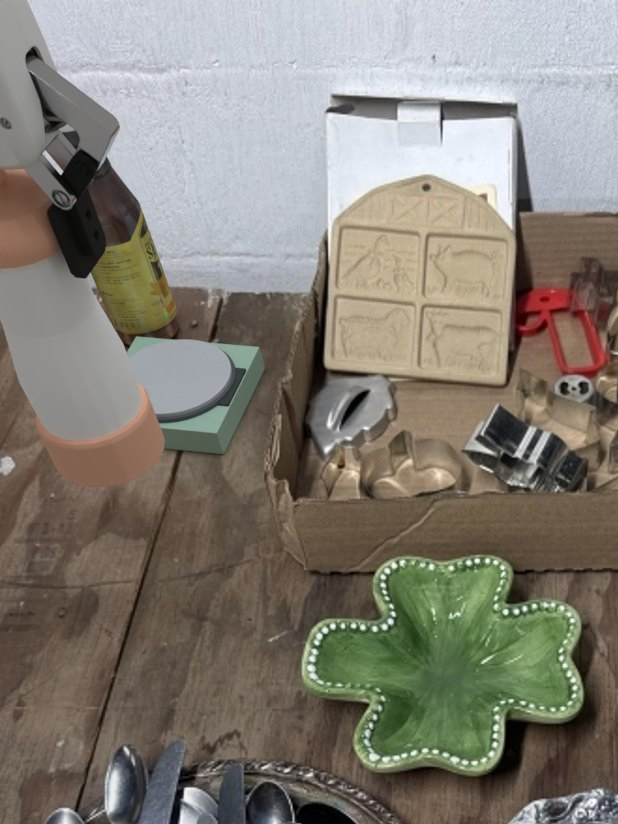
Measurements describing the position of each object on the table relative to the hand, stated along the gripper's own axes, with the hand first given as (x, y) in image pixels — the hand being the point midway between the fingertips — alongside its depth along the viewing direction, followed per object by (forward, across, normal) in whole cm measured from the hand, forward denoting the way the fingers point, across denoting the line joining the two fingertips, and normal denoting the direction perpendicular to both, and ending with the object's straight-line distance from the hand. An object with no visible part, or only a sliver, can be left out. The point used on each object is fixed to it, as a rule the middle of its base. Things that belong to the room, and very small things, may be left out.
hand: (24, 255), depth 60 cm
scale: (+29, -8, +22) cm, 38 cm away
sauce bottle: (+30, -15, +32) cm, 46 cm away
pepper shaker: (+14, 0, 0) cm, 14 cm away
